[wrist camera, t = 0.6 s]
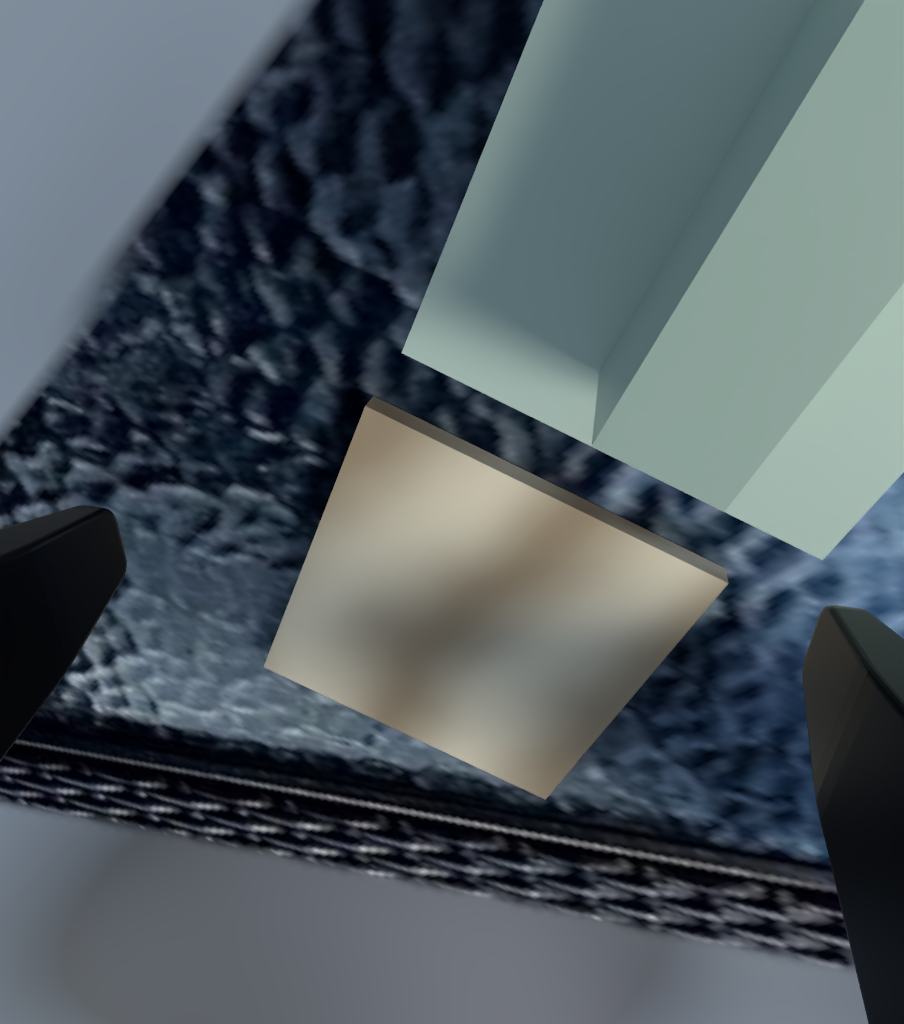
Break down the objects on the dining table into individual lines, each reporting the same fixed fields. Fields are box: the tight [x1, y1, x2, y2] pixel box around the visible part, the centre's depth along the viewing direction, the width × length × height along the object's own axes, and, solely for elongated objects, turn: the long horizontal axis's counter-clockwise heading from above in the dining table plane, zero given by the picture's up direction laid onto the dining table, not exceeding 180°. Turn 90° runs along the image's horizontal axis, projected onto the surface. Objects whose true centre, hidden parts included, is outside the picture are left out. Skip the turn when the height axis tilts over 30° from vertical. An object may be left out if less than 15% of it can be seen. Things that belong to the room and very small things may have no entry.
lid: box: [402, 0, 904, 560], centre depth 12 cm, size 10×10×5 cm
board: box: [264, 396, 728, 800], centre depth 25 cm, size 12×12×1 cm
